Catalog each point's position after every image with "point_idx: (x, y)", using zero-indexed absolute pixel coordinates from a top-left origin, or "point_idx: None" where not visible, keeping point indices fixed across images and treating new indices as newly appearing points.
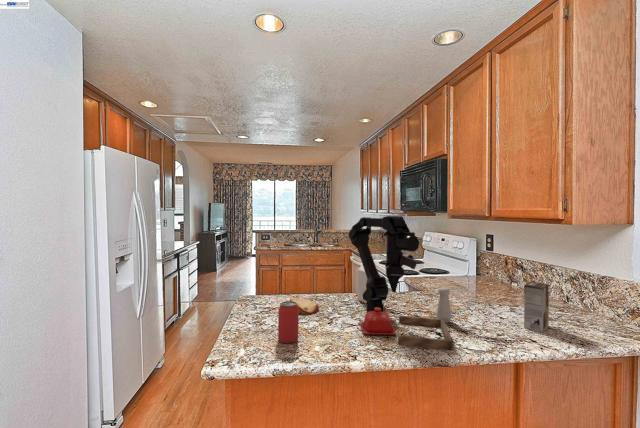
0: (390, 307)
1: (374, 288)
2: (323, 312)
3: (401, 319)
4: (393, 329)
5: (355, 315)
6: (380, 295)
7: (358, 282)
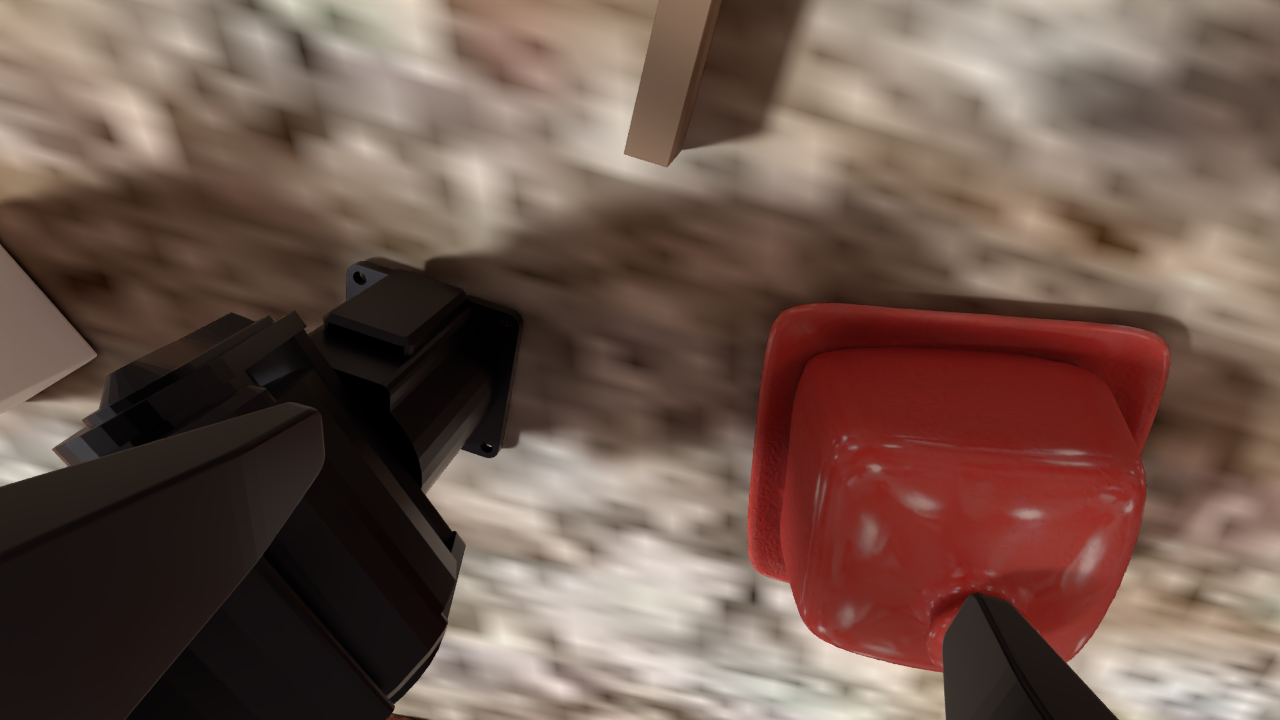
0: (102, 98)
1: (394, 691)
2: (455, 704)
3: (681, 125)
4: (1027, 330)
5: (486, 525)
6: (399, 491)
7: None
